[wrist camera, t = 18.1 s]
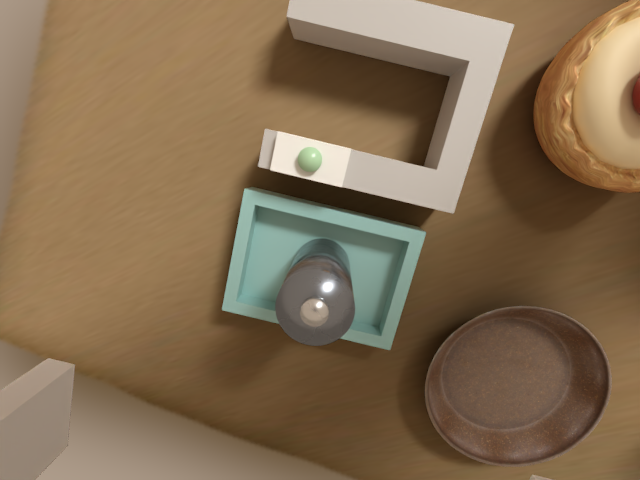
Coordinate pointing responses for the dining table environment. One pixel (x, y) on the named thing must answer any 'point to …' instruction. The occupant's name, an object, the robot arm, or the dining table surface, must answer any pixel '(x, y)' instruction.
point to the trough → (329, 223)
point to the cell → (317, 294)
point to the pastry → (595, 103)
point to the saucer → (518, 386)
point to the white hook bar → (413, 51)
